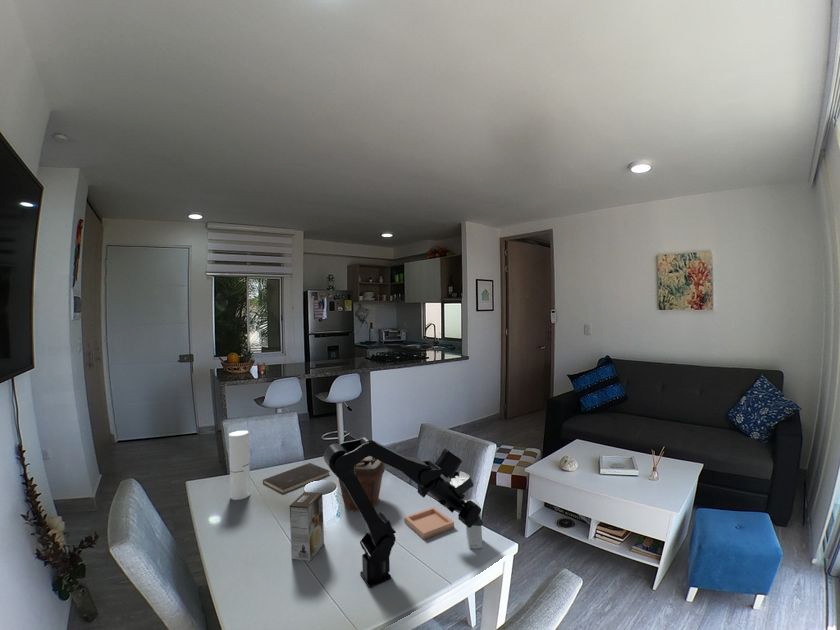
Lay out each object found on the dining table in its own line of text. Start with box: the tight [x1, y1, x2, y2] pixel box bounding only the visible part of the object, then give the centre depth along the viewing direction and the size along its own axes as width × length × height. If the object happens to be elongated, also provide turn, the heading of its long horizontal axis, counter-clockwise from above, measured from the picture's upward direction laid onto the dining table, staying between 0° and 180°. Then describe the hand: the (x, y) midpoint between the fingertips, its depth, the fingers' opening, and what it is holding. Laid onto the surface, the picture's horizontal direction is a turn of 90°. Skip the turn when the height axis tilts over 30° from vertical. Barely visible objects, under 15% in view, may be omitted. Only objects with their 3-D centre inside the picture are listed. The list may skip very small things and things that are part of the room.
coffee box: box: [289, 491, 325, 562], centre depth 118 cm, size 9×6×16 cm
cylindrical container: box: [228, 430, 251, 501], centre depth 156 cm, size 7×7×25 cm
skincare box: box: [464, 499, 483, 549], centre depth 121 cm, size 6×4×12 cm
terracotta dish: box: [404, 506, 455, 540], centre depth 131 cm, size 12×12×2 cm
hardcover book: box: [262, 462, 331, 494], centre depth 171 cm, size 16×23×2 cm
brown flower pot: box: [338, 456, 386, 511], centre depth 148 cm, size 18×20×18 cm
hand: (473, 517), depth 121 cm, fingers open, 9 cm apart
